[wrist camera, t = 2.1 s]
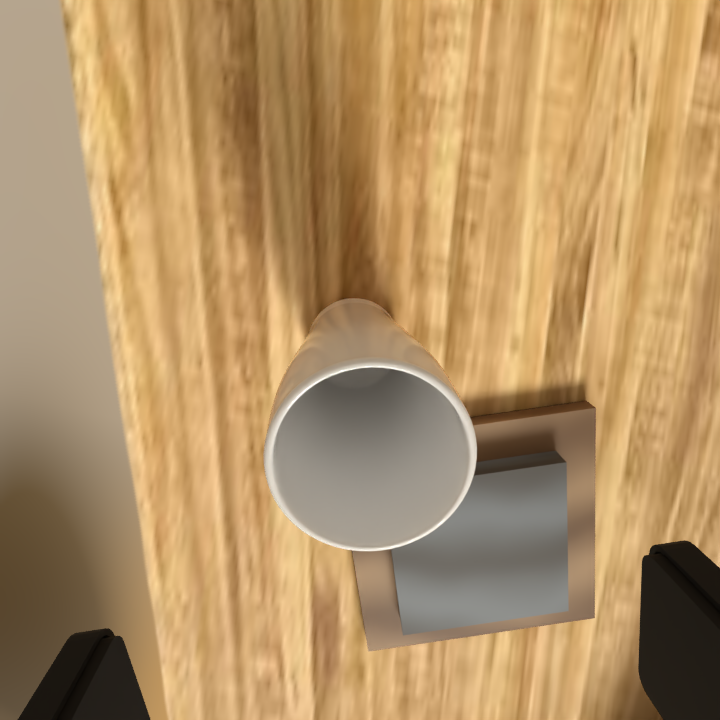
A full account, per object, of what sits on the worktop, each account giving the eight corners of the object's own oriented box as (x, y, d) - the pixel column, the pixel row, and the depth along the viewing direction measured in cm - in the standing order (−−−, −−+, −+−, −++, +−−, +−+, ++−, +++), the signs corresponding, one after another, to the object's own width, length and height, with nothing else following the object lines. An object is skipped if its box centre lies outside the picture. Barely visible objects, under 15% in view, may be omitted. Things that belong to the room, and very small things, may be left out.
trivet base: (334, 436, 31) (334, 457, 29) (586, 400, 31) (608, 417, 29) (367, 637, 36) (370, 670, 33) (586, 605, 36) (605, 635, 34)
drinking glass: (433, 338, 30) (526, 457, 15) (354, 415, 31) (372, 591, 17) (352, 258, 28) (371, 307, 14) (272, 342, 29) (213, 467, 15)
